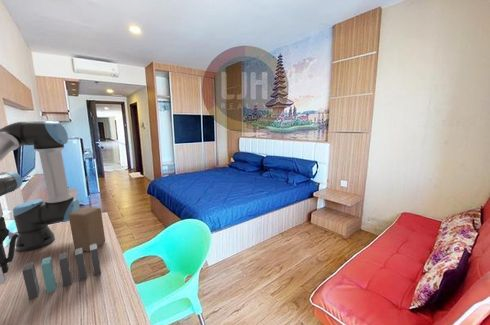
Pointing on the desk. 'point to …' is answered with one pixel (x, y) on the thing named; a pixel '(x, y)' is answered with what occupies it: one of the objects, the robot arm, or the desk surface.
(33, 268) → the domino
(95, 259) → the domino
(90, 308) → the desk surface
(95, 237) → the block
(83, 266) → the domino
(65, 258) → the domino
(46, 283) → the domino
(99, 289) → the desk surface
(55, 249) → the desk surface
